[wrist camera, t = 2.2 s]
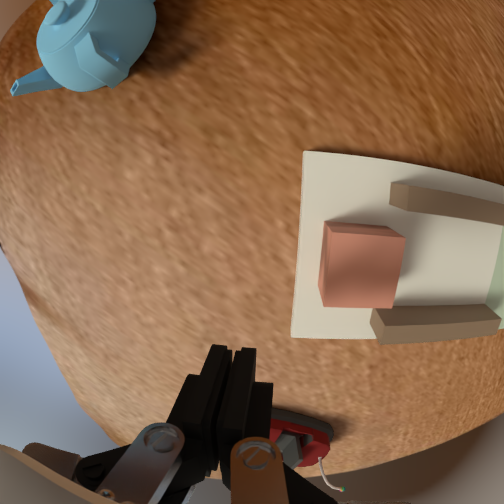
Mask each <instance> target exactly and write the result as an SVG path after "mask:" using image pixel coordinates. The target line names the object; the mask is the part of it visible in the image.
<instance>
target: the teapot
mask: <svg viewBox="0 0 504 504" xmlns="http://www.w3.org/2000/svg"><path fill="white" fill-rule="evenodd" d="M50 1H51V2H52V3H53V5H54V6H53V7H52V8H51V9H50V10H49V12H48V13H47V15H46V17H45V19H44V20H43V22H42V24H41V26H40V29H39V32H38V36H37V48H38V52H39V56H40V58H41V60H42V63H43V65H44V66H43V67H41V68H39V69H37V70H35V71H33V72H31V73H29V74H27V75H25V76H24V77H22V78H20V79H16V81H15V83H14V85H13V86H12V88H11V90H10V91H11V94H12V96H17V95H22V94H27V93H32V92H38V91H43V90H50V89H57V88H62V87H63V86H64V87H66V88H68V89H70V90H73V91H78V92H86V91H92V90H95V89H98V88H101V87H103V86H105V85H107V86H109V87H110V88H112V89H113V88H114V87H115V86H117V85H118V84H119V83H120V82H121V81H122V80H124V79H125V78H126V77H127V76H128V73H129V68H130V67H131V66H132V65H133V64H134V63H135V62H136V60H137V59H138V58H139V57H140V55H141V54H142V53H143V51H144V50H145V48H146V47H147V45H148V43H149V41H150V39H151V37H152V34H153V32H154V28H155V24H156V11H155V6H154V4H153V2H154V1H155V0H50Z"/></svg>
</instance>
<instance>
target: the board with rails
mask: <svg viewBox="0 0 504 504" xmlns="http://www.w3.org/2000/svg"><path fill="white" fill-rule="evenodd" d="M324 221H330V222H343V223H356V224H368V225H380V226H387V227H389V228H391V229H392V230H394V231H396V232H397V233H399V234H401V235H402V236H404V237H405V238H406V241H405V247H404V253H403V259H402V265H401V270H400V275H399V280H398V285H397V290H396V294H395V298H394V303H393V307H392V308H338V307H323V303H322V299H321V296H320V292H319V288H318V277H319V268H320V259H321V249H322V238H323V226H324ZM498 329H504V186H502V185H498V184H495V183H491V182H488V181H484V180H481V179H477V178H473V177H469V176H465V175H461V174H457V173H453V172H449V171H444V170H440V169H435V168H430V167H425V166H420V165H415V164H409V163H403V162H398V161H391V160H385V159H378V158H371V157H363V156H355V155H346V154H337V153H326V152H314V151H304V152H303V165H302V189H301V208H300V224H299V239H298V253H297V266H296V277H295V289H294V299H293V310H292V319H291V337H295V338H322V339H377V340H378V342H379V344H380V345H383V344H407V343H423V342H436V341H447V340H457V339H466V338H474V337H482V336H489V335H495V334H496V333H497V331H498Z"/></svg>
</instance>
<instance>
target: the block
mask: <svg viewBox="0 0 504 504" xmlns="http://www.w3.org/2000/svg"><path fill="white" fill-rule="evenodd" d="M405 241H406V238H405V237H404V236H402V235H401V234H399V233H397V232H396V231H394V230H392V229H391V228H389V227H387V226H380V225H368V224H356V223H343V222H330V221H324V226H323V238H322V249H321V259H320V268H319V277H318V288H319V292H320V296H321V299H322V303H323V307H338V308H392V307H393V303H394V298H395V294H396V290H397V285H398V280H399V275H400V270H401V265H402V259H403V253H404V247H405Z"/></svg>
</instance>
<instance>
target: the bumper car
mask: <svg viewBox="0 0 504 504" xmlns="http://www.w3.org/2000/svg"><path fill="white" fill-rule="evenodd" d="M333 436H334V434H333V429H332V427H331V426H330V425H329V424H327V423H325V422H322V421H319V420H317V419H314V418H312V417H308V416H304V415H301V414H297V413H294V412H290V411H285V410H280V409H275V408H272V412H271V425H270V438H269V440H271V441H272V442H274V443H275V444H276V445H277V446H278V447H279V449H280V452H281V456H282V461H283V462H284V463H285V464H286V465H288V466H289V467H290V468H291V469H294V468H295V467H306V466H312V465H314V464H316V463H317V462H319V466H320V470H321V474H322V476H323V478H324V480H325V482H326V484H327V485H328V486H330V487H331V488H332V489H337V490H339V491H340V492H344V490H345V487H340V488H339V487H334V486H333V485H331V484H330V483H329V482H328V480H327V478H326V476H325V474H324V471H323V467H322V462H321V460H322V459H323V458H324V457H325V456H326V455H327V454H328V452H329V450H330V442H331V441H332V439H333Z"/></svg>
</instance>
